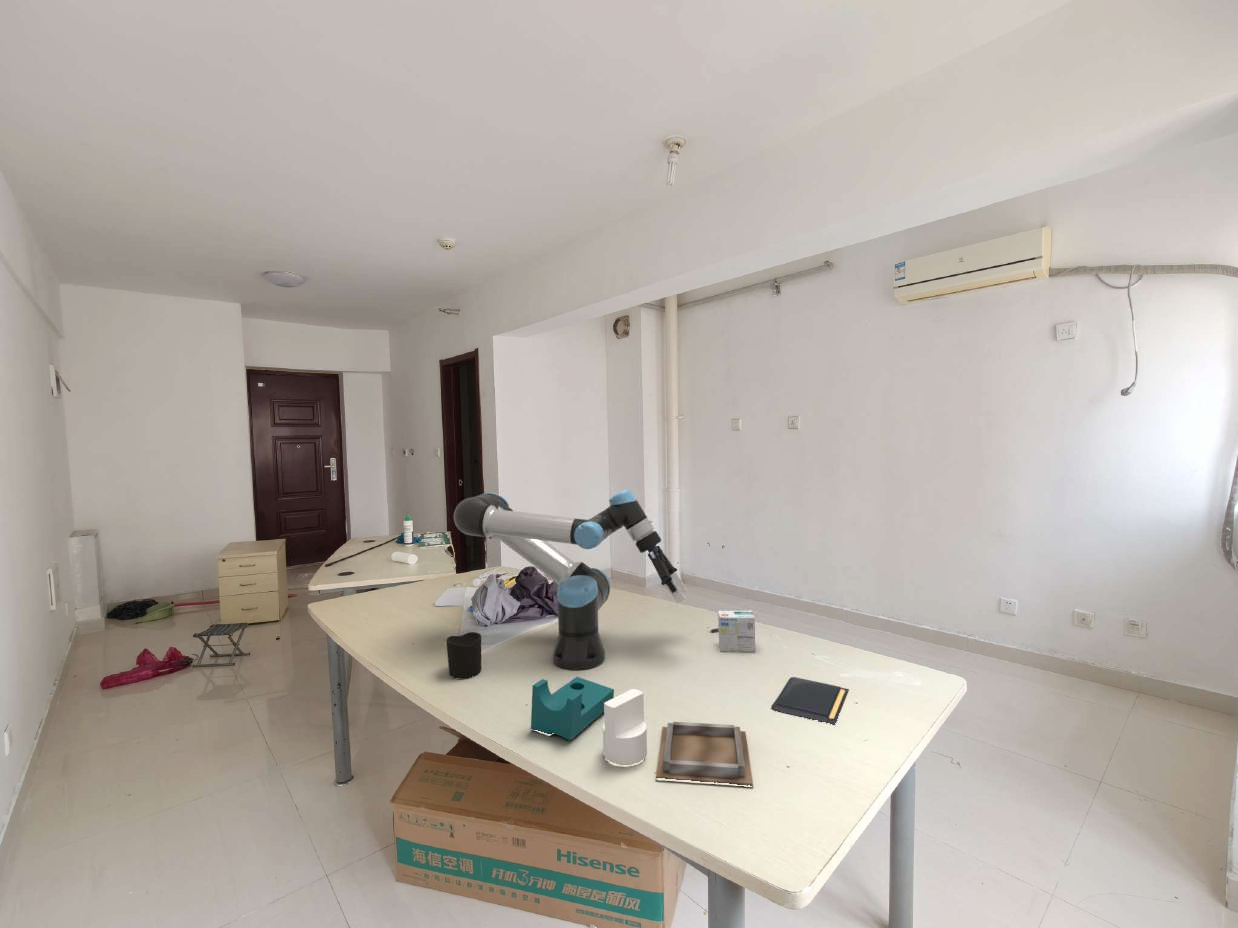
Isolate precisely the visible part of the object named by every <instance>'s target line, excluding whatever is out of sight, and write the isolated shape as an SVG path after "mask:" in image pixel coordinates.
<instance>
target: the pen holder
mask: <svg viewBox="0 0 1238 928" xmlns="http://www.w3.org/2000/svg"><path fill="white" fill-rule="evenodd" d="M445 641H446V642H445V643H446V653H447V664H448V674H449V676H450V677H451V676H452V677H454V678H453V679H455V678H467V679H470V678H469V677H471V678H473V677H472V676H474V677H476V676H478V675H479V674H480V673H481V671H482V634H481V633H478V632H474V631H471V632H469V631H468V632H466V633H464V634H462V635H450V636H448V637H447V638H446V640H445ZM478 673H479V674H478ZM477 674H478V675H477ZM475 675H476V676H475ZM452 677H451V678H452Z"/></svg>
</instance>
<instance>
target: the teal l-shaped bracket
mask: <svg viewBox="0 0 1238 928" xmlns="http://www.w3.org/2000/svg"><path fill="white" fill-rule="evenodd" d="M548 682H549V681H548V680H547V679H544V678H541V679H540V680H538V681H537V682H535V683H534V684H533V685H532V690H531V691H532V692H531V711H530V712H531V715H530V716H531V717H530V730H531V729H533V730H538V731H541V732H544V733H547V734H552V733H555V734H556V735H558V736H560V737H563V738H564V739H567V740H570V741H572V740H573V739H574V738H575V737H577V735H579V733H581V732H582V731H583V730H585V729H586V727H588V726H589V725H591V723H592V722H593V721H595V720H596V719H597V718H599V717H600V716H601V715H602V714H604V703H605V702H607V701H609V700H611V699H613V698H615V696H614V695H615V689H614V688H611V687H610V686H609V687H608V686H605V685H603V684H600V683H596V682H594V681H591V680H588V679H585V678H583V677H579V676H575V677H574V678H573V679H572V680H570V681H568V682H567V683H566V684H564V685H563V686H561V687H560V688H558V689H557V690H556V691H554V692H553V693H551V691H550V688H549V683H548ZM533 730H532V731H533ZM555 734H554V735H555Z"/></svg>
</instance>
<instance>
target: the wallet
mask: <svg viewBox="0 0 1238 928" xmlns="http://www.w3.org/2000/svg"><path fill="white" fill-rule="evenodd" d="M849 692H850V689H848V688H845V687H841V686H838V685H834V684H829V683H825V682H820V681H815V680H810V679H804V678H801V677H796V676H792V677H789V679H788V680H787V682H786V683H785V685H784V687H783V689H782V690H781V692H780V693H779V695H778V696H777V698H776V699H775V701H774V702H773V703H772V704H771V707H770V710H772V711H774V712H776V711H777V713H781V714H785V715H789V716H794V717H797V716H798V718H802V717H804V718H803V719H806V718H807V719H806V720H810V719H812V720H811V721H814V720H818V721H817V722H819V723H822V722H826V723H825V724H827V723H830V724H829V725H831V724H832V726H836V724H837V723H838V720H837V719H839V717H838V716H840V714H839V713H841V711H842V709H843V706H844V704H845V702H846V699H847V696H848V694H849ZM836 722H837V723H836ZM835 723H836V724H835Z"/></svg>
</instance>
